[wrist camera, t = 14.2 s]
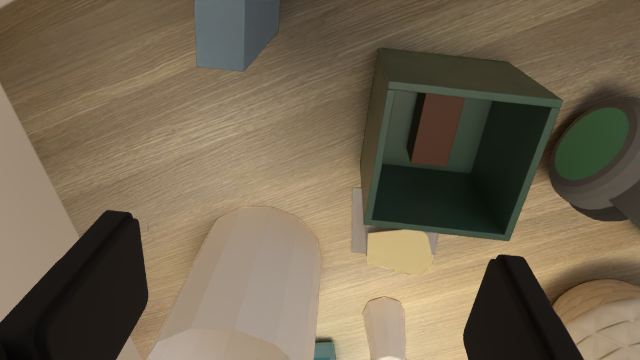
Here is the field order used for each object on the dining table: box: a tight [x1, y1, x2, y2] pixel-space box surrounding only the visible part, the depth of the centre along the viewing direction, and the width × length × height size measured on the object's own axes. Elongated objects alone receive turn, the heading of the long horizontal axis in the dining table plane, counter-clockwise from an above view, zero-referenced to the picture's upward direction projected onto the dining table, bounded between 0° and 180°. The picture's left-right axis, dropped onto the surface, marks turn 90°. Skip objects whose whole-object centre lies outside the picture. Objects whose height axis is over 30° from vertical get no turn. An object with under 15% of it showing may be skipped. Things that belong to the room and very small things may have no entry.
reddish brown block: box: [406, 92, 465, 167], centre depth 41 cm, size 7×4×4 cm, turn 175°
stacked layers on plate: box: [351, 188, 438, 275], centre depth 46 cm, size 10×9×6 cm
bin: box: [360, 48, 563, 241], centre depth 37 cm, size 12×12×12 cm
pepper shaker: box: [363, 297, 406, 360], centre depth 51 cm, size 5×5×11 cm
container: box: [145, 206, 322, 360], centre depth 44 cm, size 14×14×18 cm
